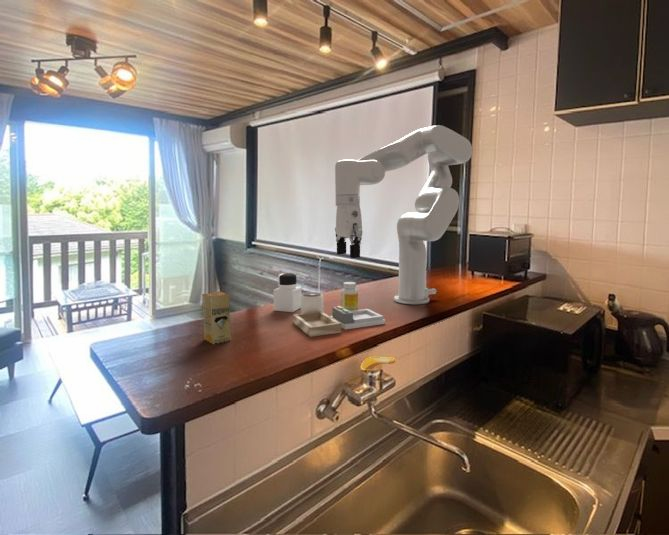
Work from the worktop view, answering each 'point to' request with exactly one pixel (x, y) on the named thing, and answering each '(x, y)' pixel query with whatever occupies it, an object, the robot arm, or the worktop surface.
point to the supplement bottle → (349, 296)
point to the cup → (311, 302)
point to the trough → (316, 323)
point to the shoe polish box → (216, 317)
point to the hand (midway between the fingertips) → (348, 255)
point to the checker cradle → (356, 317)
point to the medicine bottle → (287, 293)
